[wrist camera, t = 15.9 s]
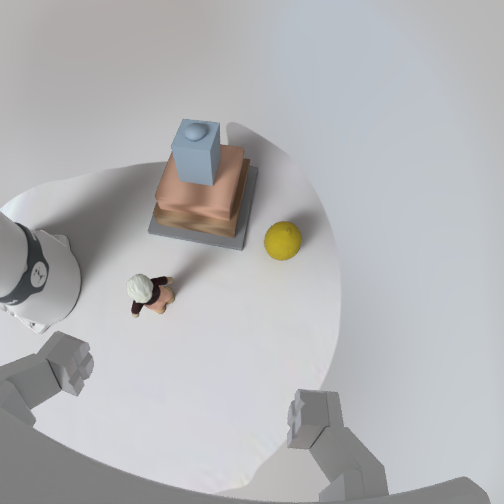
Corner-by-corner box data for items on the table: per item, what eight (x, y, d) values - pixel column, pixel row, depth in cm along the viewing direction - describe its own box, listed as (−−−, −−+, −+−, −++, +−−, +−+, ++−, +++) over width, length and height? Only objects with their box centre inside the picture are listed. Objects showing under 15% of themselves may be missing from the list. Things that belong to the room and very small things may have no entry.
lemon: (295, 236, 49) (306, 214, 41) (295, 267, 47) (307, 250, 40) (262, 233, 49) (268, 211, 41) (261, 265, 47) (266, 247, 39)
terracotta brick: (158, 224, 47) (146, 201, 39) (179, 162, 51) (173, 134, 44) (234, 238, 47) (235, 215, 39) (248, 172, 51) (251, 144, 44)
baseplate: (149, 233, 47) (147, 231, 46) (175, 158, 53) (174, 155, 52) (241, 250, 47) (241, 248, 46) (257, 170, 53) (258, 167, 52)
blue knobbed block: (179, 181, 41) (169, 142, 32) (189, 154, 42) (182, 114, 34) (212, 186, 41) (209, 147, 33) (220, 159, 42) (219, 118, 34)
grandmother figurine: (164, 276, 45) (141, 249, 33) (183, 289, 45) (166, 266, 33) (137, 316, 43) (106, 301, 31) (156, 329, 42) (129, 320, 30)
